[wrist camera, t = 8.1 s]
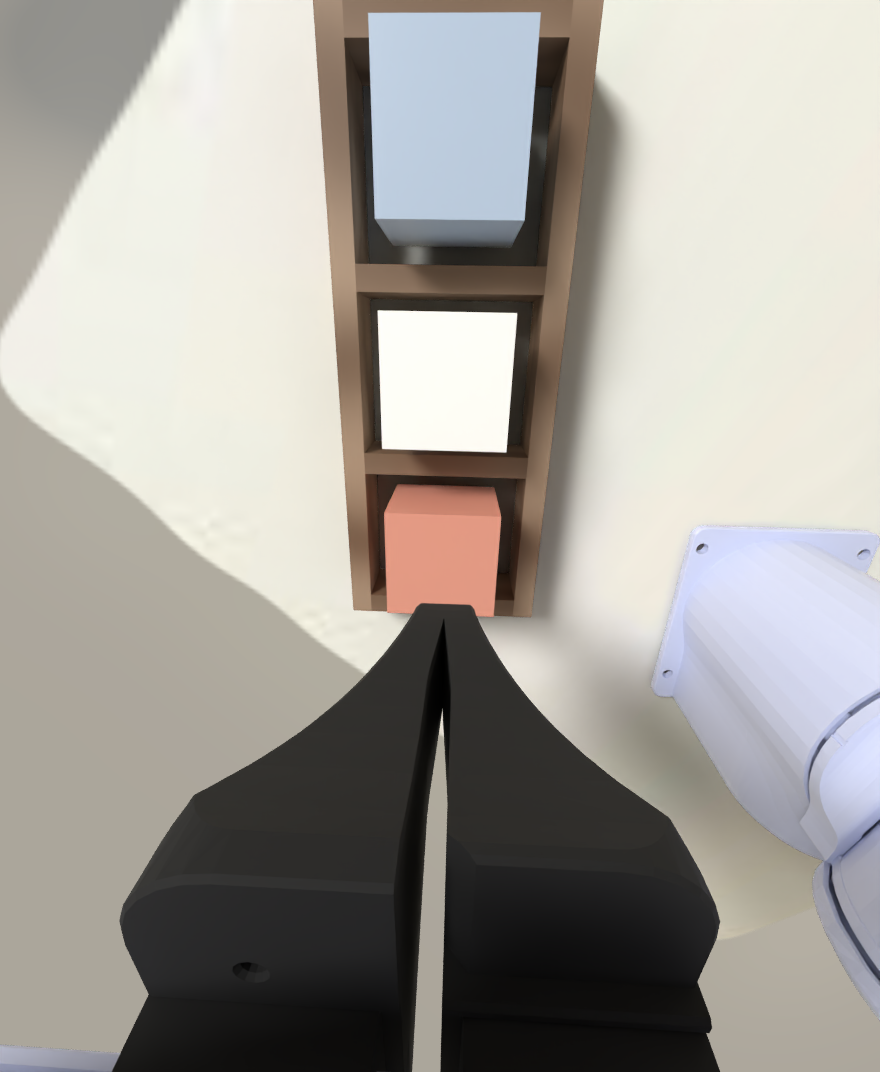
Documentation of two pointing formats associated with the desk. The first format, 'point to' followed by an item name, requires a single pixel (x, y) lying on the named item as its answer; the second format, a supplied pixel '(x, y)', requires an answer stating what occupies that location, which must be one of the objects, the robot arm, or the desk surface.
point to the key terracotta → (442, 547)
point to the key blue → (452, 125)
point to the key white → (445, 379)
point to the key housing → (451, 278)
